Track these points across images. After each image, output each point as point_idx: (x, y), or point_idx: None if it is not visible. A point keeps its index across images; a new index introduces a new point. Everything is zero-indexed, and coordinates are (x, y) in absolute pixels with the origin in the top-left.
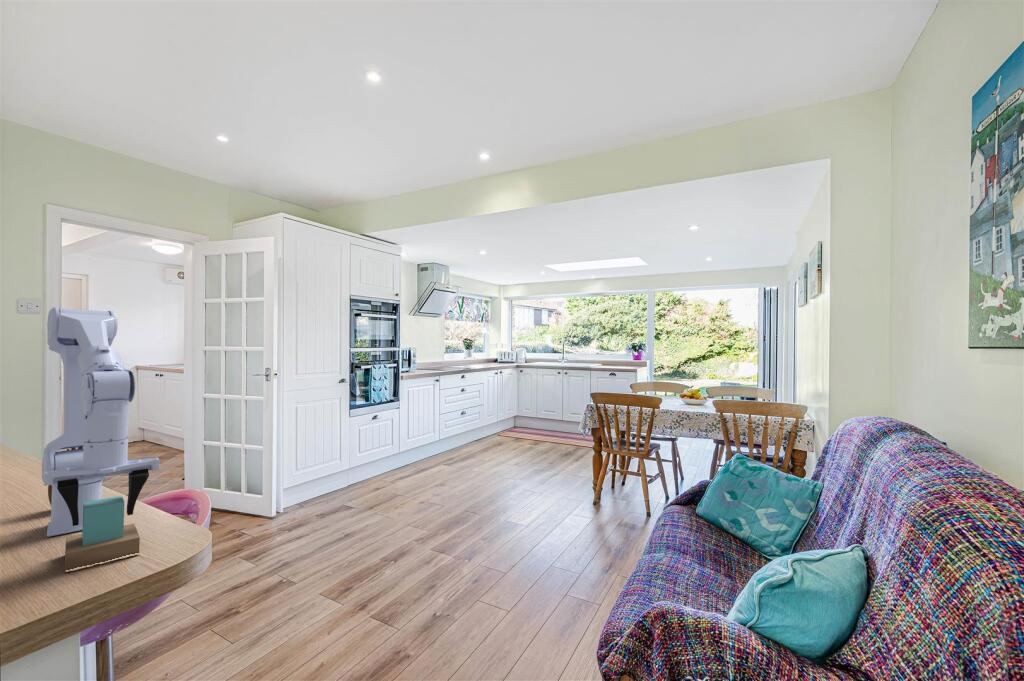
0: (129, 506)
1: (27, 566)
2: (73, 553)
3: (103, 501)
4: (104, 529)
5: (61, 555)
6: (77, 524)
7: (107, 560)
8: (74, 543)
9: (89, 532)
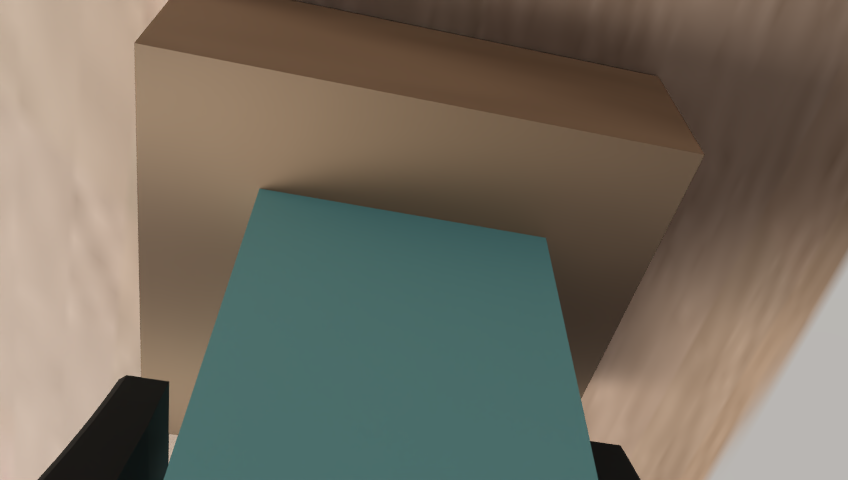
0: (119, 459)
1: (697, 373)
2: (650, 137)
3: None
4: (400, 287)
5: None
6: (592, 447)
7: (407, 30)
8: None
9: (517, 307)
